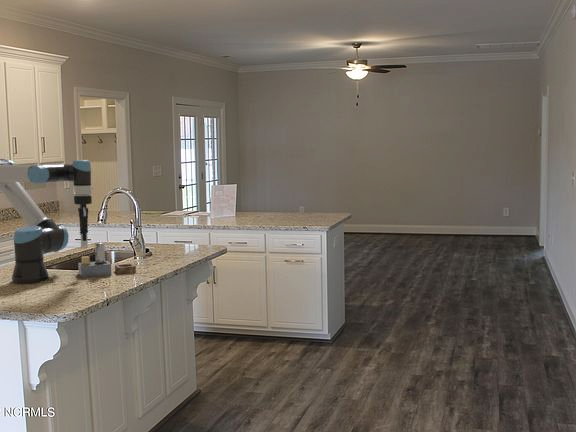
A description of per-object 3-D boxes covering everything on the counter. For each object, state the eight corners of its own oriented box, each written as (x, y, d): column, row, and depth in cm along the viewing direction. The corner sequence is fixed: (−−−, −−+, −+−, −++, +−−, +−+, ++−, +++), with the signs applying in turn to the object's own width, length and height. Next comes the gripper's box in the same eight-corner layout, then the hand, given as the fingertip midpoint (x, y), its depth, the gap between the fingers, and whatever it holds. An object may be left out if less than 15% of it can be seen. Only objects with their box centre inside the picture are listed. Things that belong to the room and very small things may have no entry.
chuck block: (81, 280, 295) (80, 266, 294) (78, 276, 304) (78, 262, 303) (111, 277, 300) (111, 264, 299) (108, 273, 309) (107, 260, 308)
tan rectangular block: (83, 273, 298) (82, 257, 297) (82, 272, 301) (81, 256, 300) (90, 272, 299) (89, 257, 298) (89, 271, 302) (88, 256, 301)
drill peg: (97, 275, 300) (95, 244, 298) (95, 273, 304) (94, 243, 302) (106, 274, 302) (104, 243, 300) (104, 272, 305) (103, 242, 304)
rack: (117, 276, 301) (116, 267, 301) (114, 273, 309) (113, 264, 309) (137, 275, 305) (137, 266, 304) (133, 271, 313) (133, 263, 312)
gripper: (93, 195, 292) (94, 249, 294) (89, 193, 304) (91, 245, 306) (75, 196, 289) (77, 250, 292) (72, 194, 301) (74, 246, 303)
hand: (84, 247), depth 299 cm, fingers closed
